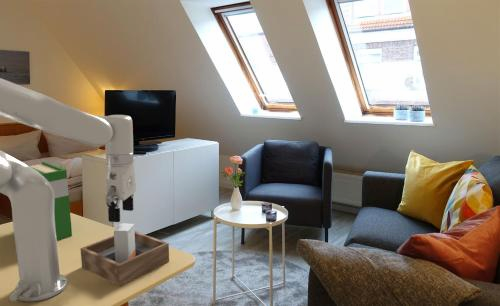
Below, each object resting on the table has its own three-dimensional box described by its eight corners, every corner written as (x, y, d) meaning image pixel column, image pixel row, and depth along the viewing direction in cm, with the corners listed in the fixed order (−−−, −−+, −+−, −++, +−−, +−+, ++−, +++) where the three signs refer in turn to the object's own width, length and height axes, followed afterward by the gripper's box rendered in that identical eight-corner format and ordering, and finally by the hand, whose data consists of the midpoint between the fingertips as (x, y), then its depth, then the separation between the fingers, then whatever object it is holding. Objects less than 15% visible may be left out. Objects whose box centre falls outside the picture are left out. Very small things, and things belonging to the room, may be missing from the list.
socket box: (169, 261, 125) (168, 243, 124) (120, 286, 111) (118, 266, 110) (131, 246, 136) (130, 229, 134) (81, 267, 121) (80, 248, 120)
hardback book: (29, 228, 149) (22, 165, 144) (50, 223, 155) (44, 161, 150) (50, 242, 138) (43, 173, 133) (72, 236, 143) (66, 169, 138)
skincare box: (129, 269, 120) (127, 231, 118) (115, 268, 121) (113, 230, 118) (136, 259, 126) (134, 223, 124) (123, 259, 127) (120, 222, 124)
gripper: (120, 166, 108) (121, 227, 111) (143, 153, 125) (144, 207, 128) (92, 164, 108) (95, 225, 112) (119, 152, 125) (121, 205, 129)
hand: (121, 215), depth 120 cm, fingers open, 9 cm apart
